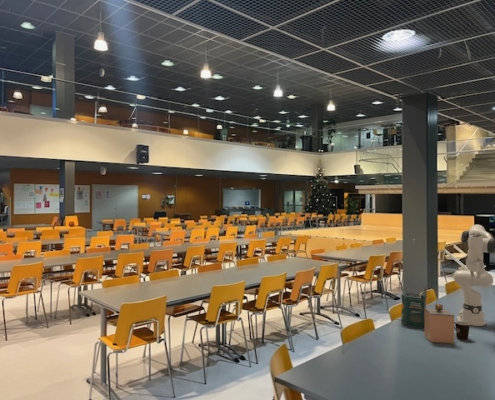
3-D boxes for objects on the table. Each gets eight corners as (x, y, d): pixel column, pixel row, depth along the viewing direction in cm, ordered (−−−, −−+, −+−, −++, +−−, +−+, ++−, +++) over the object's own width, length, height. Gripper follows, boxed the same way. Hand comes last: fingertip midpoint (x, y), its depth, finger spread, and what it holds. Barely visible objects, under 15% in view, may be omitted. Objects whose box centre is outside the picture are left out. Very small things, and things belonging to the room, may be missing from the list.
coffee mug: (471, 341, 248) (471, 325, 248) (457, 339, 249) (457, 324, 250) (465, 335, 259) (465, 320, 259) (451, 334, 261) (451, 319, 261)
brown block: (424, 334, 259) (424, 307, 260) (446, 336, 257) (446, 309, 257) (430, 341, 245) (430, 313, 246) (453, 343, 243) (454, 314, 243)
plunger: (428, 328, 257) (428, 302, 257) (444, 329, 255) (444, 303, 255) (432, 333, 247) (433, 306, 247) (449, 334, 245) (449, 307, 246)
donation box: (424, 328, 273) (424, 288, 273) (400, 324, 281) (400, 286, 281) (426, 322, 287) (426, 285, 287) (403, 319, 295) (403, 282, 295)
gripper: (487, 260, 247) (487, 281, 247) (474, 256, 267) (474, 275, 267) (476, 259, 248) (476, 281, 248) (464, 255, 268) (464, 275, 268)
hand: (475, 278), depth 258 cm, fingers open, 8 cm apart
